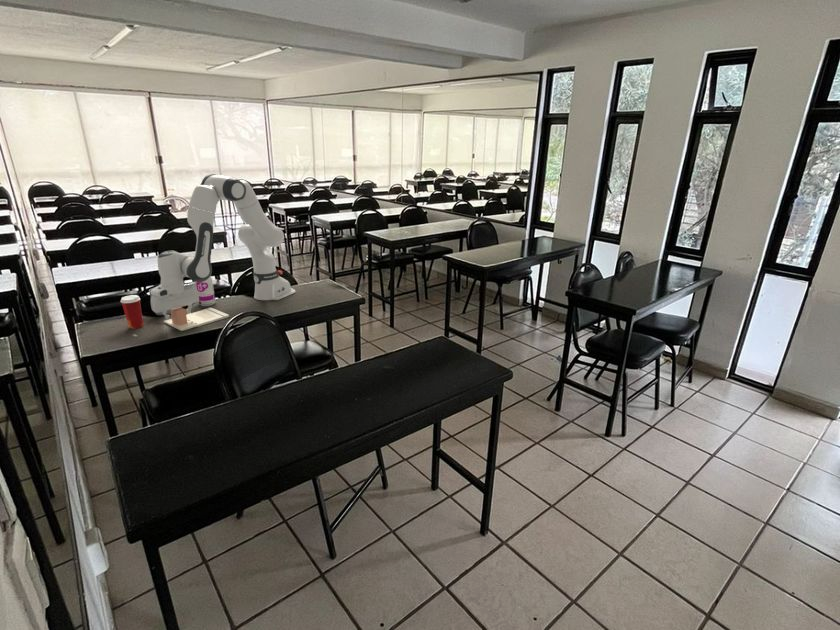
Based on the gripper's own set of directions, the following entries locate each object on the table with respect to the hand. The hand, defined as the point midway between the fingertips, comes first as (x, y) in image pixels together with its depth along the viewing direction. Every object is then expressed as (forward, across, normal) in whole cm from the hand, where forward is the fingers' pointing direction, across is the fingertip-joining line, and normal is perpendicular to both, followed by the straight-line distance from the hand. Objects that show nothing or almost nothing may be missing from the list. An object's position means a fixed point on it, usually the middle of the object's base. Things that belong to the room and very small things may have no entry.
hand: (178, 316), depth 210 cm
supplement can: (+4, -23, -17) cm, 29 cm away
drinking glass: (+5, -4, -22) cm, 23 cm away
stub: (+4, 0, 0) cm, 5 cm away
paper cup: (+5, +13, -14) cm, 20 cm away
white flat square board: (+4, -12, 0) cm, 13 cm away
